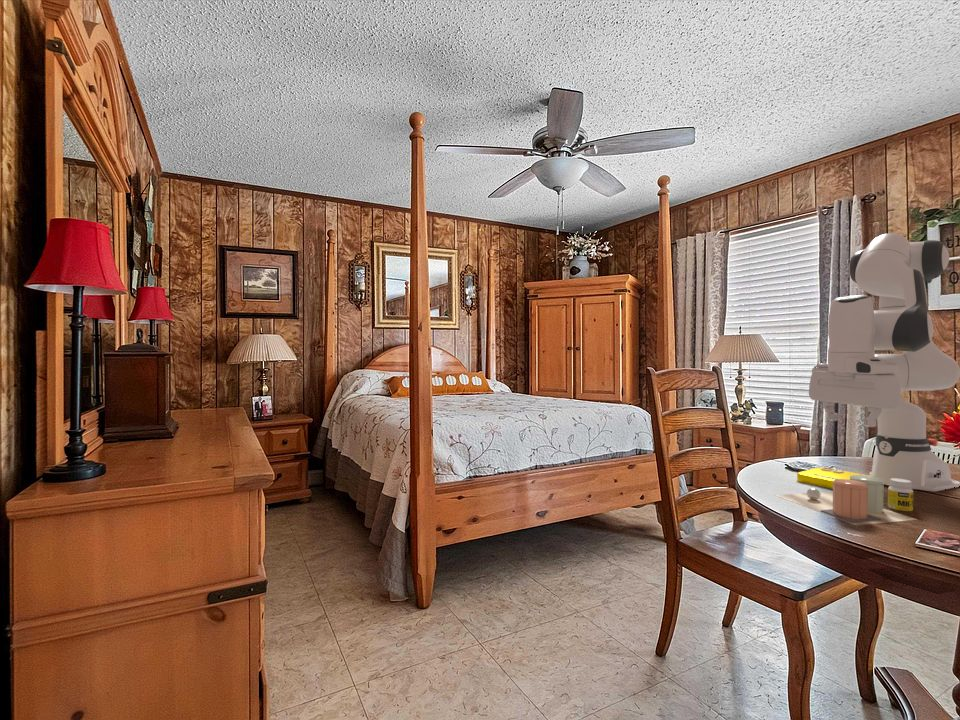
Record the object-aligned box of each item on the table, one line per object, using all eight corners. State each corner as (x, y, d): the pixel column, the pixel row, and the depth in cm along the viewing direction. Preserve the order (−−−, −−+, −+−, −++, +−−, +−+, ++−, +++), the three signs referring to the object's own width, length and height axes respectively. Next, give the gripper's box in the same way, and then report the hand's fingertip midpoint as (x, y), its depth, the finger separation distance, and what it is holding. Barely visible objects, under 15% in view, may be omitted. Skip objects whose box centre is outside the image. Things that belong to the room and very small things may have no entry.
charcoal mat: (848, 509, 120) (848, 507, 120) (880, 520, 112) (880, 518, 112) (820, 511, 119) (820, 510, 119) (851, 522, 111) (851, 521, 111)
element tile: (794, 487, 147) (794, 471, 146) (820, 480, 154) (820, 464, 154) (851, 500, 133) (851, 482, 133) (878, 491, 141) (878, 475, 141)
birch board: (828, 496, 135) (828, 491, 135) (917, 526, 113) (917, 519, 113) (775, 500, 132) (775, 495, 132) (856, 531, 109) (856, 525, 109)
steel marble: (813, 497, 130) (813, 486, 129) (823, 501, 127) (823, 489, 127) (803, 498, 129) (803, 487, 129) (813, 502, 126) (813, 490, 126)
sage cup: (864, 504, 124) (864, 474, 124) (889, 512, 118) (890, 481, 117) (843, 506, 123) (843, 476, 122) (867, 514, 116) (868, 482, 116)
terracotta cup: (848, 509, 119) (848, 478, 119) (874, 517, 113) (874, 485, 113) (826, 510, 118) (826, 480, 118) (851, 519, 112) (851, 487, 112)
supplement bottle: (897, 517, 119) (898, 482, 118) (882, 510, 123) (882, 477, 123) (918, 517, 118) (918, 482, 118) (902, 510, 123) (902, 477, 123)
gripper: (802, 363, 124) (801, 417, 125) (882, 366, 104) (881, 431, 105) (823, 362, 126) (822, 416, 126) (906, 365, 106) (905, 429, 106)
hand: (850, 423), depth 115 cm, fingers open, 8 cm apart
